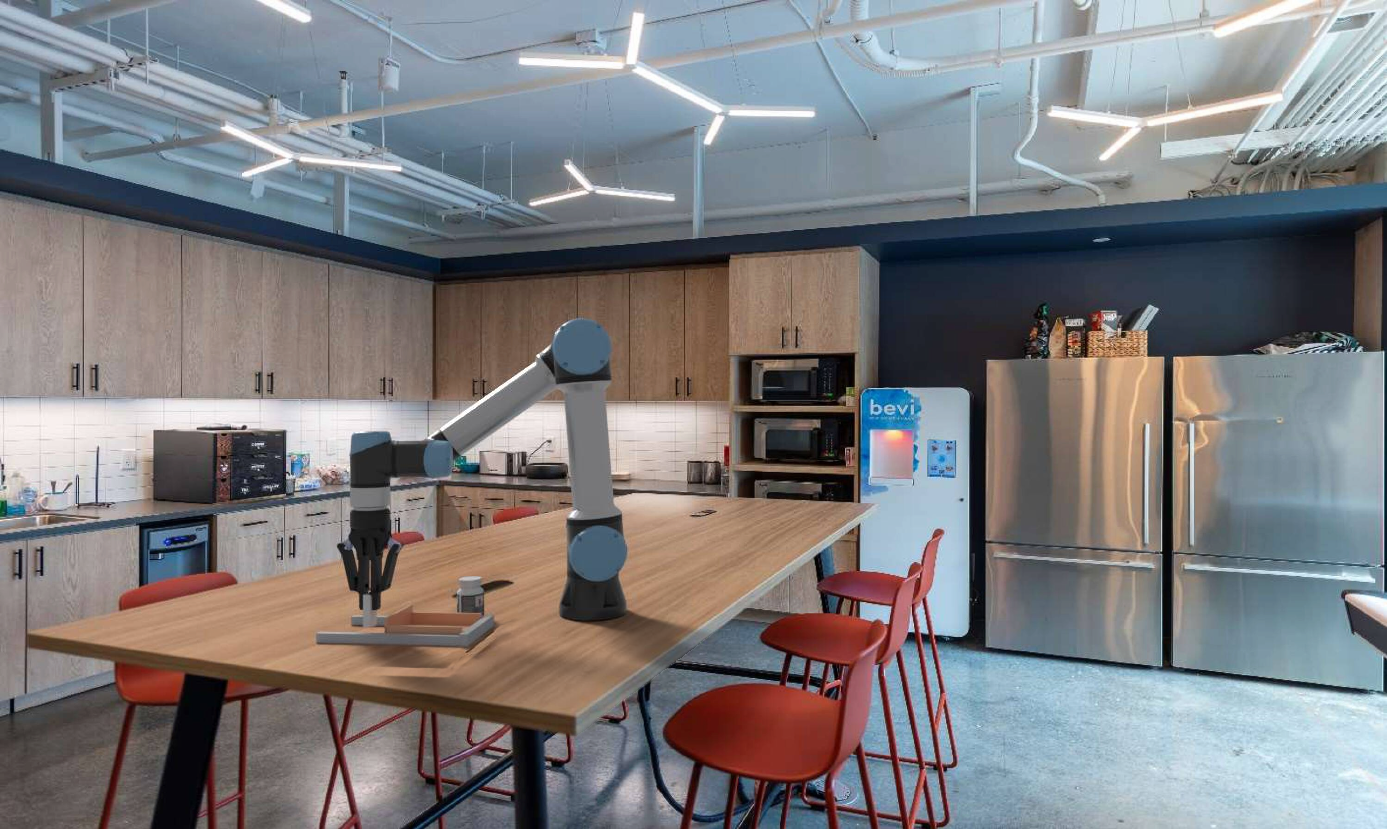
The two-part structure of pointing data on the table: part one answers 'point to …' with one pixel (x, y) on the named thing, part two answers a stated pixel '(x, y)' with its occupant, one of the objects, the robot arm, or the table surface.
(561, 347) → the robot arm
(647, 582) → the table surface
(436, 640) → the bay
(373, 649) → the table surface
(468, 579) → the pill bottle
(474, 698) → the table surface
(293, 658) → the table surface
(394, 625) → the crate
